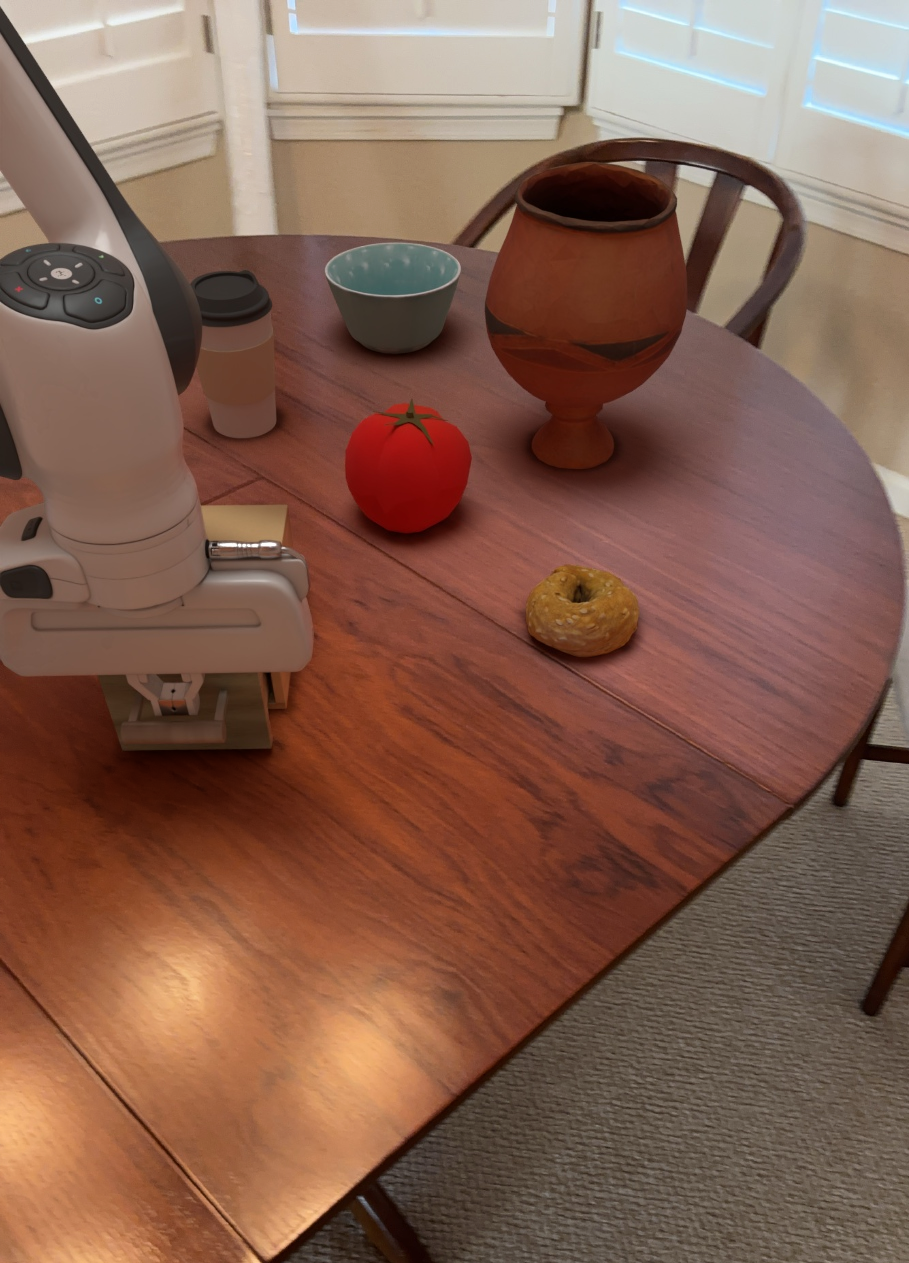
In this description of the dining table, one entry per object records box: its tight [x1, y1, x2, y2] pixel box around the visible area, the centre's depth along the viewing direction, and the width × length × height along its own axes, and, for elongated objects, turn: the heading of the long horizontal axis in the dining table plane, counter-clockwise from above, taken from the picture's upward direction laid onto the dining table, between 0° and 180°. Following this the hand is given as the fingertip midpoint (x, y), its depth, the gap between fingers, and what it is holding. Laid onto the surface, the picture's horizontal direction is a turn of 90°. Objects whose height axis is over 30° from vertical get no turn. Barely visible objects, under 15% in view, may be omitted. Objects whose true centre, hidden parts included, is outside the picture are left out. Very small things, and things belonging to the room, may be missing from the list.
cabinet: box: [201, 504, 295, 710], centre depth 87 cm, size 15×13×10 cm
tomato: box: [344, 397, 473, 534], centre depth 100 cm, size 12×12×11 cm
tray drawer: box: [97, 672, 274, 751], centre depth 81 cm, size 18×11×8 cm, turn 1°
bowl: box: [324, 242, 462, 355], centre depth 126 cm, size 16×16×8 cm
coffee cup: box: [190, 269, 277, 439], centre depth 110 cm, size 9×9×15 cm
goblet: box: [484, 161, 688, 470], centre depth 103 cm, size 19×19×25 cm
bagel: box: [525, 564, 640, 658], centre depth 91 cm, size 10×11×5 cm
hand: (178, 709), depth 75 cm, fingers closed
